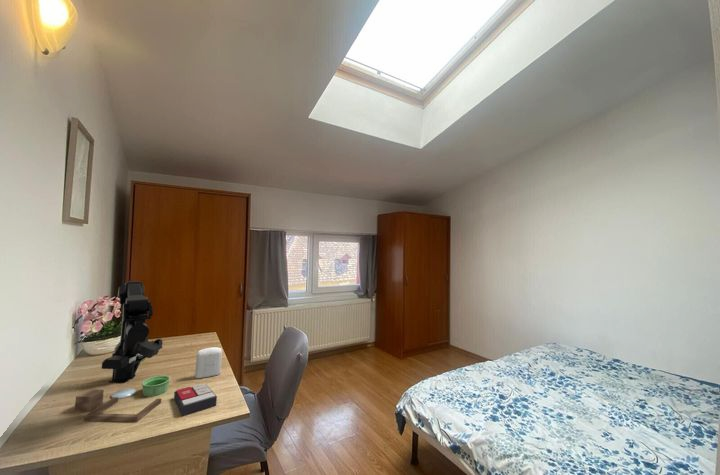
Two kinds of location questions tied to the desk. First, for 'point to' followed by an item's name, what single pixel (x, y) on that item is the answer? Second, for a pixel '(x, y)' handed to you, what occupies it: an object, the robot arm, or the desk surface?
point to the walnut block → (89, 400)
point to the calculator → (194, 399)
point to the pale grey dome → (123, 393)
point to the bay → (99, 416)
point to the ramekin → (155, 385)
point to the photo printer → (208, 362)
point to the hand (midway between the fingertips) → (130, 379)
